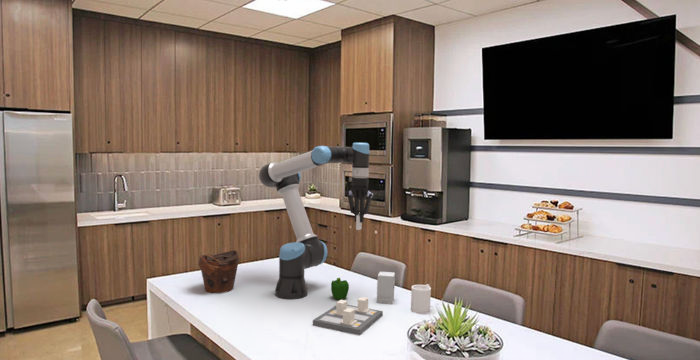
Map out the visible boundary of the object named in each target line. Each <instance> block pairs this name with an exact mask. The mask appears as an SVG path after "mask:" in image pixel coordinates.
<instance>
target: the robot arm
mask: <svg viewBox="0 0 700 360" xmlns="http://www.w3.org/2000/svg"><path fill="white" fill-rule="evenodd" d="M326 164H351V166H352V168H351V176H352V178H351V188H350V190H349V191H346V192H345V195H346V196H347V200H348V205H349V210H350V214H354V222H355V230H356V231H360V230H362V229H363V227H362V226H363V224H362V223H364V220H365V219H364V217H365V216H364V215H368V213H369V210H370V206H371V202H372V198H373V196H374V195H375V194H374V193H373V192H371V191H370V189H369V176H370V167H369V166H370V144H369V143H368V142H353V143H352V146H339V145H337V146H332V145H330V146H328V145H319V146H315V147H314V148H313V149H312V150H310V151H307V152H304V153H301V154H299V155H296V156H294V157H290V158H288V159H286V160H285V159H284V160H282V161H279V162H275V161H273V162H270V163H268V164H265V165H263V166H262V167H261V168H260V169H259V172H258V179H259V181H260V183H261V184H262V185H264V186H265V187H267V188H275V189H276V192H277V193H278V195H281V197H282V200H283V203H284V205H285V209H286V211H287V215H288V217H289V221H290V223H291V225H292V229H293V232H294V235H295V238H296V241H295V242H288V243H287V242H286V243H284V244H283V245H281V247H280V248H279V254H278V255H279V256H278V257H279V259H278V263H279V266H278V267H279V270H278V274H279V276H278V280H277V284H276V287H275V291H274V292H275V293H274V294H275V296H276V297H278V298H280V299H285V300H294V299H302V298H305V297H307V296H308V294H309V293H308V292H309V289H308V287H307V283H306V279H305V270H307V269H311V268H314V267H318V266H319V265H322V264H323V263H325V261H326V259H327V257H328V248H327V247H328V246H327V245H326V243H324V242H323V241H321V240H319V236H318V235H317V234H315V233H314V232H313V229H312V225H311V222H310V220H309V217H308V215H307V212H306V209H305V206H304V203H303V200H302V197H301V194H300V192H299V188H300V182H301V178H302V177H301V173H302V172H305V171H308V170H311V169H314V168H317V167H320V166H323V165H326ZM366 196H367V198H366ZM365 200H366V201H365Z"/></svg>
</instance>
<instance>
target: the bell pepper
mask: <svg viewBox="0 0 700 360" xmlns="http://www.w3.org/2000/svg"><path fill="white" fill-rule="evenodd" d="M330 286H331V287H330V290H331V294H332V297H333V298H334V299H335V300H337V301H340V300H345V299H346V298H347V296H348V294H349V291H350V290H349V288H350V285H349V282H348V281H347V280H341V277H337V278H336V279H335V280H331V284H330Z"/></svg>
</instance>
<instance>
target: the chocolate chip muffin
mask: <svg viewBox="0 0 700 360" xmlns="http://www.w3.org/2000/svg"><path fill="white" fill-rule="evenodd" d="M239 262H240V258H239V253H238V251H237V250H235V249H233V250H229V251H226V252H221V253H217V254H213V255H212V254H202V255H200V256H199V259H198V262H197V265H198V267H199V268H200V271H201V275H202V276H201V277H202V280H203V286H204V291H206V292H207V293H211V294H212V293H213V294H215V293H216V294H218V293H227V292H229V291H232V290H233V289H234V285H235V281H236V276H237V270H238V266H239Z"/></svg>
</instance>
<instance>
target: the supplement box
mask: <svg viewBox="0 0 700 360" xmlns="http://www.w3.org/2000/svg"><path fill="white" fill-rule="evenodd" d="M395 278H396V273H395V272H394V271H393V272H391V271H379V272H378V274H377V283H376V304H377V303H378V304H388V305H393V302H394V300H395V285H396V283H395V282H396V281H395Z"/></svg>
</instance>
